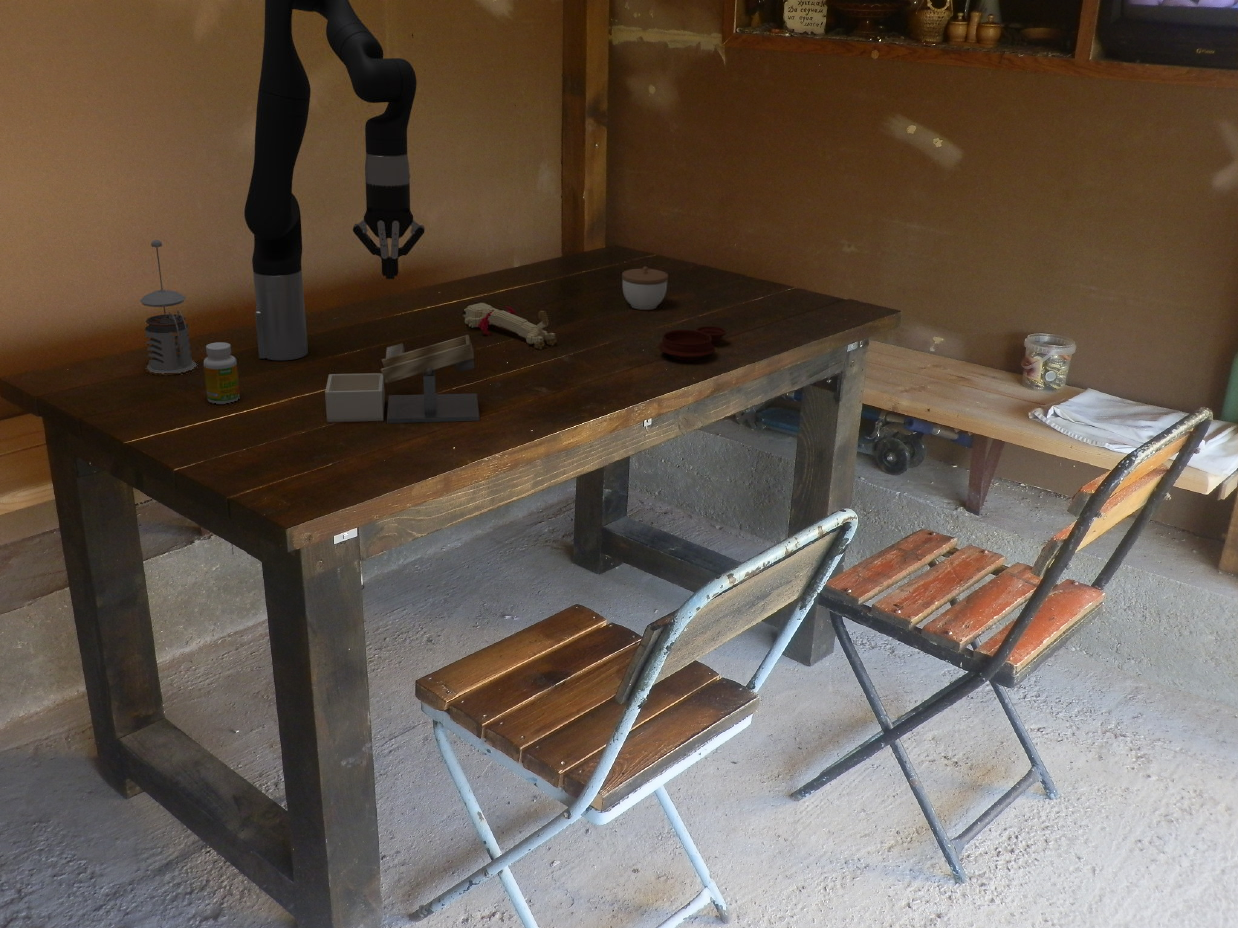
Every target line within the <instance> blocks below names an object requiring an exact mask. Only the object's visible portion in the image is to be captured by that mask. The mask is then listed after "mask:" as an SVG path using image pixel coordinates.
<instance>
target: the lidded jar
mask: <svg viewBox="0 0 1238 928" xmlns="http://www.w3.org/2000/svg"><path fill="white" fill-rule="evenodd" d="M621 279H622V292H623V296H624V298H625V300H626V301H627V303H628V304H630V307H631V308H633V309H636V310H643V311H649V310H654V309H656V308H658V307H657V306H659V305H660V304H661V303H662V301H663V300H664V298H665V297H666V294H667V293H666V292H667V290H668V289H667V287H668V279H669V275H668V273H666V272H665V271H662V270H658V269H653V268H649V267H648V266H643V267H642V268H632V269H627V270H625V271H623V272H622V274H621Z"/></svg>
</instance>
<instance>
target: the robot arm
mask: <svg viewBox="0 0 1238 928" xmlns="http://www.w3.org/2000/svg"><path fill="white" fill-rule="evenodd" d="M293 10H295V11H296V10H297V11H302V12H307V13H308V12H309V13H314V12H315V13H317V14H319V15H320V16H322V17H323V18H324V19H325V20H327V22H326V26H325V27H326V28H325V35H326V39H327V42H328V45H329V46H330V48H331V50H332V51H333V52H334V54H335V55H336V57H338V59H339V60H340V61H341V62H342V64H343V65H344V66H345V68H346V71H347V74H348V76H349V79H350V81H351V85H352V88H353V92H354V93H355V95H356V96H357V97H358V98H359V99H360V100H362V101H363V102H367V103H372V104H380V103H381V104H382V103H387V106H386V108H385V110H384V112H383V113H381V114H378V115H376V116H373V117H370V118H368V119H367V120H366V122H365V126H364V131H365V134H364V137H365V139H364V140H365V163H364V177H365V202H366V205H365V206H366V209H365V212H364V216H363V219H362V220H361V221H359V222H358V223H355V224H354V225H353V227H352V232H353V234H354V235H355V236H356V237H357V238H358V240H360V242H361V243H362V245H363V246H364V247H365V248H366V249H367V250H368V251H369V252H370V254H371V255H373V256H378V257H379V258H380V260H381V274H382V276H384V277H385V280H395V277H397V276H398V274H399V258H400V257H402V256H407V255H408V254H409V252H410V251H411V250H412V249H413V248H414V246H415V245H416V243H418V242H419V241H420V238H421V237H422V236H423V235H424V234H425V230H426V229H425V226H424V225H423V224H419V223H418V222H417V221H415V220H414V215H413V213H412V212H411V189H410V187H411V185H410V183H411V182H410V179H411V174H410V163H409V156H408V126H409V123H410V117H411V113H412V109H413V104H414V100H415V96H416V92H417V91H416V90H417V84H418V83H417V82H418V81H417V75H416V71H415V69H414V68H413V66H412V64H411V63H410V62H409V61H408V60H407V59H404V58H401V57H400V58H397V57H396V58H395V57H392V58H384V49H383V47H382V45H381V43H380V42H379V41H378V39H377V38H376V37H375V36H374V34H373V33H372V32H371V31H370V30H369V29H368V27H367V26H366V25H365V24H364V23H363V22H362V20H361V19H360V18H359V16H358V15H357V13H356V11H355V10H354V8H353V6H352V4H351V3H350V1H349V0H264V33H263V35H264V36H263V37H264V38H263V51H262V59H261V60H262V61H261V68H260V76H259V85H258V93H257V102H256V111H255V113H256V114H255V115H256V117H255V132H254V158H253V159H254V160H253V167H252V173H251V178H250V183H249V188H248V191H247V192H248V193H247V196H246V201H245V205H244V210H243V211H244V212H243V213H244V214H243V215H244V220H245V223H246V226H247V228H248V230H250V231H249V232H251V233H252V234H253V238H254V239H253V242H254V243H253V253H252V258H251V262H252V263H251V264H252V273H253V274H252V275H253V283H254V295H255V307H256V308H255V312H254V318H255V328H256V338H257V348H258V359H265V358H267V359H266V360H272V361H290V360H296V359H301V358H303V357H305V356H307V355H308V354H309V351H308V350H309V349H308V335H307V324H306V323H307V321H306V309H305V296H304V294H305V293H304V283H303V270H302V269H303V268H302V257H303V256H302V255H303V236H302V218H301V217H302V216H301V209H300V204H299V201H298V200H297V198H296V196H295V195H294V194H293V181H294V180H293V179H294V178H293V176H294V172H295V171H294V170H295V166H296V162H297V159H298V156H299V153H300V149H301V146H302V144H303V141H304V137H305V133H306V128H307V123H308V119H309V111H310V104H311V93H312V92H311V83H310V81H309V78H308V75H307V71H306V69H305V68H304V65H303V63H302V60H301V59H300V56H299V53H298V51H297V49H296V46H295V41H294V38H293V27H292V25H293V24H292V22H293V20H292V19H293ZM367 226H368V227H367ZM410 227H411V229H410V234H411V235H410V236H409V238H408V239H407V240H406V241H405V243H404V244H403V245H402V246H400V247H399V244H400V239H401V238H402V237H403V236H404V235H405V234H406V232H408V230H409V228H410ZM368 228H369V229H370V231H371V232H372V233H373V235H374V236H375V237H376V238H378V239H379V246H378V245H377V244H376V243H375V242H374V241H373V239H372V238H371V236H370V235H369V234H368V232H369V229H368ZM388 239H391V241H390V242H391V243H390V245H391V247H390V250H389V243H388V242H389V241H388ZM389 251H390V255H389Z"/></svg>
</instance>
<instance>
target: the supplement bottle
mask: <svg viewBox="0 0 1238 928" xmlns="http://www.w3.org/2000/svg"><path fill="white" fill-rule="evenodd" d="M205 351H206V355H207V357H205V358H204V360H203V373H204V378H205V379H204V380H205V382H204V383H205V388H206V390H205V391H206V398H207V399H206V400H207V401H208V402H209V403H211V402H212V403H211V404H214V403H216V404H215V405H227V404H226V403H229V404H231V403H230V402H233V403H235V402H234V401H236V402H237V401H239V400H240V398H241V397H240V396H241V395H240V394H241V393H240V385H239V384H240V383H239V372H238V363H237V358H236V357H235V356H233V355H231V354H232V347H231V344H230V343H228V342H212V343H209V344H208V343H207V345H206V346H205ZM238 399H239V400H238Z"/></svg>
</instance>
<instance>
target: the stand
mask: <svg viewBox="0 0 1238 928" xmlns="http://www.w3.org/2000/svg"><path fill="white" fill-rule="evenodd" d="M422 376H423V377H422V378H423V394H396V395H395V394H393V395H391V394H389V395H388V398H387V399H388V401H387V412H386V413H387V414H386V423H387V424H405V423H407V424H408V423H410V424H411V423H412V424H413V423H444V422H445V423H446V422H447V423H449V422H452V423H453V422H480V411H479V401H478V394H477V393H476V392H475V393H439V394H438V393H437V391H436V390H437V389H436V369H434V370H432V374H430V375H428V374H427V372H424V373H423V375H422Z"/></svg>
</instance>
